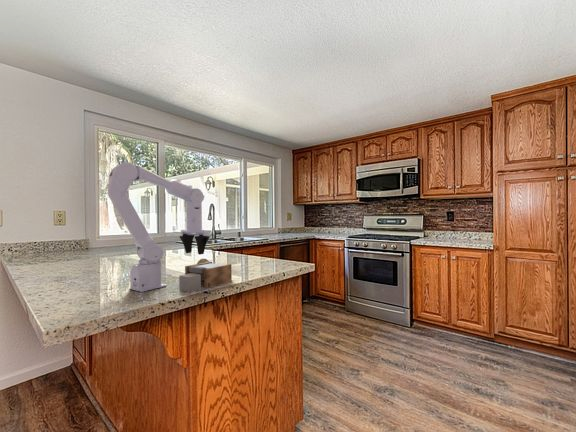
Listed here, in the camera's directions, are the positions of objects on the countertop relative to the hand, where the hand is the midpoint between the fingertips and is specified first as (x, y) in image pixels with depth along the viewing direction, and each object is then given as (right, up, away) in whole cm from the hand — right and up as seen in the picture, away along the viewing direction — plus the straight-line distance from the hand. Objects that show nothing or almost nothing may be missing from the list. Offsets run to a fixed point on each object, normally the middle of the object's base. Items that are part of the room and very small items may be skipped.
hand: (194, 253), depth 113 cm
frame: (+7, -10, -3) cm, 13 cm away
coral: (0, -11, +11) cm, 16 cm away
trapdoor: (+6, -6, -4) cm, 9 cm away
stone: (+3, -11, -14) cm, 18 cm away
